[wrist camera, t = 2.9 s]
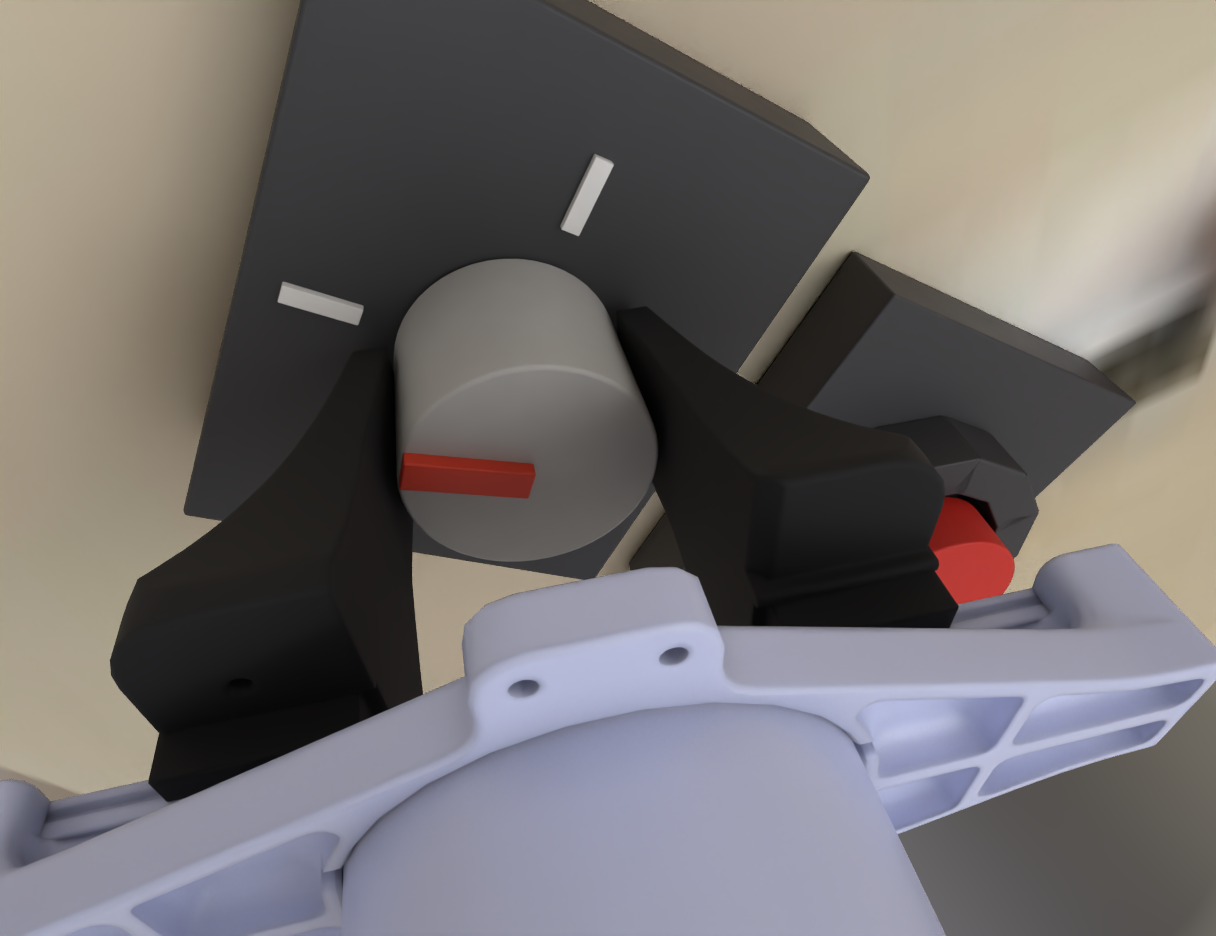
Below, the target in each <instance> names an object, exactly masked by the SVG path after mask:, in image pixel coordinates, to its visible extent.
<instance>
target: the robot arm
mask: <svg viewBox="0 0 1216 936" xmlns="http://www.w3.org/2000/svg"><path fill="white" fill-rule="evenodd" d="M616 316H617V336H618V338H619V341H620V343H621V346H622V348H623V350H624V353H625V355H626V358H627V360H628V362H629V365H630V367H631V370H632V372H633V375H634V377H635V379H636V382H637V384H638V387H639V389H640V392H641V394H642V396H643V399H644V401H645V404H646V406H647V409H648V411H649V413H650V416H651V418H652V421H653V424H654V427H655V430H656V433H657V439H658V460H657V465H656V470H655V474H654V477H653V480H652V483H653V485H654V487H655V490H656V492H657V494H658V496H659V498H660V501H661V503H662V505H663V507H664V510H665V512H666V514H667V517H668V519H669V522H670V524H671V527H672V530H673V532H674V535H675V538H676V542H677V545H678V548H679V551H680V554H681V558H682V561H683V564H684V567H685V570H686V571H684V570H682V569H680V568H677V567H646V568H641V569H636V570H631V571H626V572H621V573H616V574H611V575H606V576H601V577H596V578H591V579H586V580H581V581H576V582H571V583H566V584H561V585H556V586H551V587H546V588H541V589H536V590H531V591H526V592H521V593H516V594H512V595H510V596H507V597H505V598H502V599H499V600H497V601H494V602H491V603H489V604H487V605H485V606H484V607H483V608H482V609H481V610H480V611H479V612H478V613H476V614H475V615H474V616H473V617H472V618H471V619H470V620H469V621H468V622H467V623H466V624H465V627H464V634H463V640H462V649H463V660H464V671H465V677H462V678H460V679H458V680H455V681H453V682H451V683H448V684H446V685H444V686H442V687H439V688H437V689H435V690H432V691H430V692H428V693H425V694H423V690H422V681H421V672H420V662H419V652H418V642H417V632H416V621H415V609H414V598H413V586H412V544H413V519H412V517H411V516H410V515H409V513H408V512H407V510H406V508H405V506H404V504H403V502H402V500H401V496H400V493H399V490H398V483H397V468H396V430H395V391H394V372H393V369H392V365H391V362H390V358H389V355H388V351H387V348H386V347H380V348H373V349H367V350H360V351H354V352H353V353H352V354H351V355H350V357H349V358H348V360H347V362H346V364H345V366H344V368H343V370H342V372H341V374H340V376H339V378H338V379H337V381H336V383H335V385H334V387H333V388H332V390H331V392H330V394H329V396H328V397H327V399H326V401H325V402H324V404H323V405H322V407H321V409H320V410H319V412H318V414H317V415H316V417H315V419H314V420H313V422H312V423H311V425H310V426H309V428H308V429H307V430H306V432H305V433H304V435H303V436H302V437H301V439H300V440H299V442H298V443H297V444H296V446H295V447H294V449H293V450H292V451H291V453H290V454H289V455H288V456H287V458H286V459H285V460H284V461H283V463H282V464H281V465H280V466H279V467H278V468H277V469H276V471H275V472H274V473H273V474H272V475H271V476H270V477H269V478H268V479H267V480H266V481H265V483H264V484H263V485H262V486H260V487H259V488H258V489H257V490H256V491H255V492H254V493H253V494H252V495H251V496H250V497H249V498H248V499H247V500H246V501H244V502H243V503H242V504H241V505H240V506H239V507H238V508H237V509H236V510H235V511H234V512H233V513H231V514H230V515H229V516H228V517H227V518H225V519H224V520H223V521H222V522H220V523H219V524H218V525H217V526H216V527H214V528H213V529H212V530H210V531H209V532H208V533H206V534H205V535H204V536H202V537H201V538H200V539H198V540H197V541H196V542H194V543H193V544H192V545H190V546H189V547H187V548H186V549H184V550H183V551H181V552H180V553H178V554H177V555H175V556H174V557H172V558H171V559H169V560H167V561H166V562H164V563H163V564H161V565H160V566H158V567H157V568H155V569H153V570H152V571H150V572H149V573H147V574H145V575H144V576H142V577H140V578H139V579H138V580H137V582H136V585H135V587H134V589H133V592H132V594H131V596H130V599H129V601H128V603H127V606H126V609H125V612H124V615H123V618H122V621H121V625H120V628H119V632H118V635H117V638H116V642H115V645H114V649H113V652H112V656H111V659H110V667H111V676H112V678H113V679H114V681H115V683H116V684H117V686H118V687H119V689H120V690H121V691H122V692H123V694H124V695H125V696H126V697H127V698H128V699H129V700H130V701H131V702H132V704H133V705H134V706H135V707H136V708H137V709H138V710H139V711H140V712H141V713H142V715H143V716H144V717H145V718H146V719H147V720H148V721H149V722H150V723H151V725H152V726H153V727H154V728H155V729H156V730H157V731H158V732H159V737H158V741H157V745H156V750H155V754H154V759H153V763H152V768H151V772H150V777H149V780H146V781H142V782H137V783H133V784H128V785H123V786H119V787H114V788H110V789H105V790H100V791H96V792H91V793H87V794H82V795H77V796H73V797H68V798H64V799H59V800H54V801H49V799H48V798H47V797H46V796H45V795H44V794H43V793H42V792H41V791H40V790H39V789H38V788H36V787H35V786H34V785H32V784H30V783H28V782H25V781H21V780H14V779H7V780H0V936H946V935H945V933H944V931H943V928H942V927H941V924H940V922H939V920H938V918H937V916H936V914H935V912H934V910H933V908H932V906H931V904H930V901H929V899H928V898H927V895H926V893H925V891H924V889H923V887H922V885H921V883H920V881H919V879H918V877H917V874H916V873H915V870H914V868H913V866H912V864H911V862H910V860H909V858H908V856H907V854H906V852H905V850H904V847H903V845H902V843H901V841H900V839H899V837H898V835H897V834H899V833H902V832H904V831H907V830H909V829H912V828H915V827H917V826H920V825H923V824H925V823H928V822H931V821H933V820H936V819H938V818H941V817H944V816H946V815H949V814H952V813H954V812H957V811H959V810H962V809H965V808H967V807H970V806H973V805H975V804H978V803H980V802H983V801H986V800H988V799H991V798H994V797H996V796H999V795H1001V794H1004V793H1007V792H1009V791H1012V790H1015V789H1017V788H1020V787H1023V786H1025V785H1028V784H1031V783H1034V782H1037V781H1039V780H1042V779H1045V778H1048V777H1051V776H1053V775H1056V774H1059V773H1062V772H1065V771H1068V770H1072V769H1075V768H1078V767H1081V766H1084V765H1087V764H1090V763H1093V762H1096V761H1099V760H1103V759H1107V758H1110V757H1114V756H1118V755H1121V754H1125V753H1128V752H1132V751H1135V750H1139V749H1143V748H1147V747H1151V746H1154V745H1155V744H1157V743H1158V741H1159V740H1160V739H1161V738H1162V737H1163V736H1164V735H1165V734H1166V733H1167V732H1168V731H1169V730H1170V729H1171V727H1173V726H1174V724H1175V723H1176V722H1177V721H1178V720H1179V719H1180V718H1181V717H1182V716H1183V715H1184V714H1185V713H1186V712H1187V711H1188V710H1189V708H1190V707H1191V706H1192V705H1193V704H1194V703H1195V702H1196V701H1197V700H1198V699H1199V698H1200V697H1201V696H1202V695H1203V693H1204V692H1205V691H1206V690H1207V689H1208V688H1209V687H1210V686H1211V685H1212V684H1213V682H1215V681H1216V647H1215V646H1214V645H1213V644H1212V643H1211V642H1210V641H1209V640H1208V639H1207V638H1206V636H1205V635H1204V634H1203V633H1202V632H1201V631H1200V630H1199V629H1198V628H1197V627H1196V626H1195V625H1194V624H1193V623H1192V622H1191V620H1190V619H1189V618H1188V617H1187V616H1186V615H1185V614H1184V613H1183V612H1182V611H1181V610H1180V609H1179V608H1178V607H1177V606H1176V605H1175V603H1174V602H1173V601H1172V600H1171V599H1170V598H1169V597H1168V596H1167V595H1166V594H1165V593H1164V592H1163V591H1162V590H1161V589H1160V587H1159V586H1158V585H1157V584H1156V583H1155V582H1154V581H1153V580H1152V579H1151V578H1150V577H1149V576H1148V575H1147V574H1146V573H1145V571H1144V570H1143V569H1142V568H1141V567H1140V566H1139V565H1138V564H1137V563H1136V562H1135V561H1134V560H1133V559H1132V558H1131V557H1130V555H1129V554H1128V553H1127V552H1126V551H1125V550H1124V549H1123V548H1122V547H1121V546H1120V545H1119V544H1108V545H1103V546H1099V547H1094V548H1089V549H1085V550H1080V551H1075V552H1070V553H1066V554H1062V555H1059V556H1057V557H1054V558H1052V559H1051V560H1049V561H1048V562H1046V563H1045V564H1044V565H1043V566H1042V568H1041V569H1040V570H1039V572H1038V574H1037V576H1036V578H1035V581H1034V584H1033V587H1032V588H1030V589H1026V590H1021V591H1017V592H1012V593H1007V594H1003V595H998V596H994V597H989V598H984V599H980V600H975V601H971V602H966V603H961V604H957V603H956V601H955V600H954V598H953V597H952V596H951V594H950V593H949V591H948V590H947V588H946V587H945V585H944V584H943V582H942V581H941V579H940V578H939V576H938V575H937V574H936V572H935V570H938V568H939V560H938V558H937V557H936V555H935V554H934V553H933V551H932V550H931V548H930V547H929V543H930V540H931V537H932V534H933V532H934V529H935V526H936V524H937V521H938V518H939V516H940V513H941V510H942V508H943V504H944V499H945V494H946V491H945V485H944V480H943V479H942V477H941V476H940V475H939V473H938V472H937V471H936V469H935V468H934V467H933V465H932V464H931V462H930V461H929V460H928V458H927V457H926V456H925V454H924V453H923V452H922V451H921V450H920V448H919V447H918V446H917V445H916V444H915V443H914V442H913V441H912V440H911V439H910V437H909V436H906V435H901V434H896V433H892V432H887V431H882V430H878V429H873V428H868V427H864V426H860V425H856V424H853V423H849V422H846V421H843V420H839V419H836V418H833V417H830V416H827V415H824V414H821V413H818V412H815V411H812V410H810V409H807V408H805V407H802V406H800V405H797V404H795V403H792V402H790V401H787V400H785V399H783V398H781V397H779V396H776V395H774V394H772V393H770V392H768V391H766V390H765V389H763V388H761V387H759V386H757V385H755V384H753V383H751V382H749V381H747V380H746V379H744V378H742V377H741V376H739V375H737V374H736V373H734V372H733V371H731V370H729V369H728V368H726V367H725V366H723V365H722V364H720V363H719V362H717V361H716V360H714V359H713V358H711V357H710V356H708V355H707V354H706V353H704V352H703V351H702V350H700V349H699V348H698V347H696V346H695V345H694V344H692V343H691V342H690V341H688V340H687V339H686V338H685V337H683V336H682V335H681V334H680V333H678V332H677V331H676V330H675V329H674V328H672V327H671V326H670V325H669V324H667V323H666V322H665V321H664V320H663V319H661V318H660V317H659V316H658V315H657V314H655V313H654V312H653V311H652V310H651V309H649V308H648V307H647V306H645V307H638V308H632V309H626V310H619V311H616Z"/></svg>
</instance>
